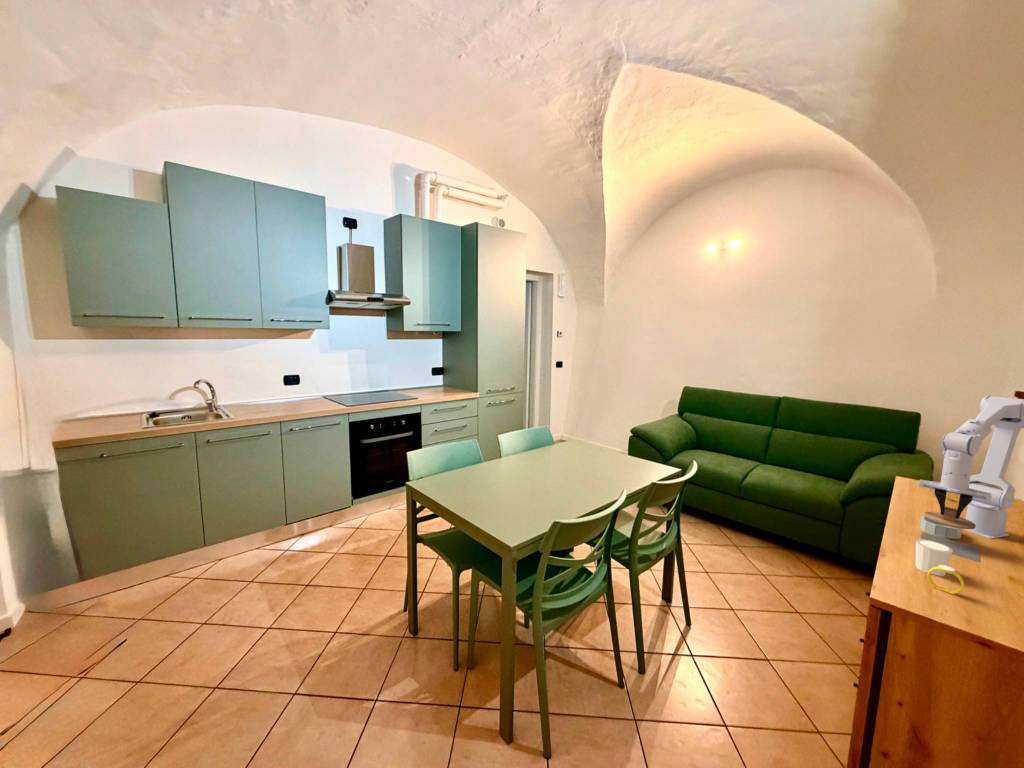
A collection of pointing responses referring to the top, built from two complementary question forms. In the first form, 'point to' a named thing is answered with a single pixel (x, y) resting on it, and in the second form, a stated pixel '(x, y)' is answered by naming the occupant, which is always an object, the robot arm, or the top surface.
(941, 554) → the white cylinder
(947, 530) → the grey curved piece
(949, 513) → the walnut lid
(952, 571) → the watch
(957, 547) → the rubber mat
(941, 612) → the top surface
